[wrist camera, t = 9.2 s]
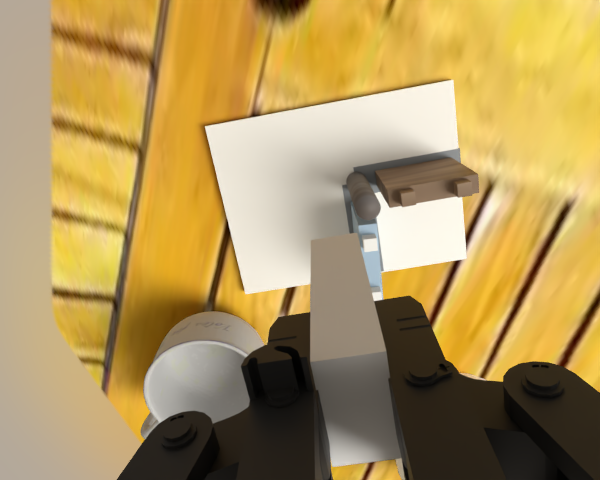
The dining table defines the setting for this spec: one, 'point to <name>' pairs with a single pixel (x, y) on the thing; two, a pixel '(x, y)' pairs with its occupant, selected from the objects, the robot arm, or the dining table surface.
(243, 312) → the dining table surface
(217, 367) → the teacup
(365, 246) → the fence panel
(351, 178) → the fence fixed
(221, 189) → the card
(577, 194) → the dining table surface
